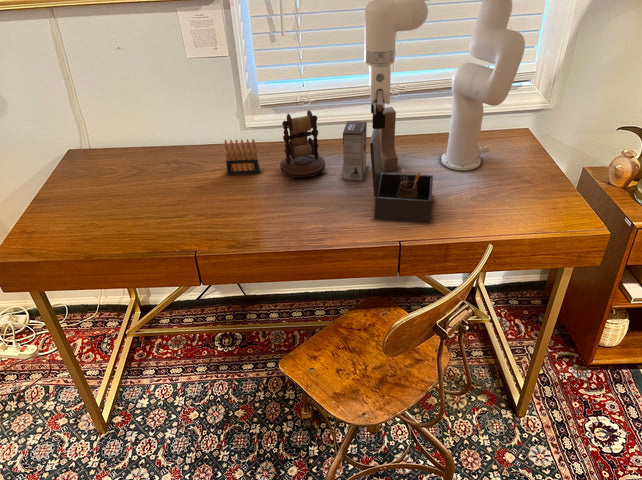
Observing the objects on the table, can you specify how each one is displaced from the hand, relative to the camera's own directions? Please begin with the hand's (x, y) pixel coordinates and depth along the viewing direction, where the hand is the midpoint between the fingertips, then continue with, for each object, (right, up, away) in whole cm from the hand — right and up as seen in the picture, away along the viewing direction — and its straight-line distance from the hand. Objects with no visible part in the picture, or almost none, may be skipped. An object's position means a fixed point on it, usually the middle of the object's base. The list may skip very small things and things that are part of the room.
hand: (377, 120), depth 147 cm
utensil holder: (+10, -22, +13) cm, 27 cm away
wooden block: (+7, -5, +34) cm, 35 cm away
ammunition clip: (-40, -8, +34) cm, 54 cm away
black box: (+9, -22, +13) cm, 27 cm away
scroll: (-21, -7, +34) cm, 40 cm away
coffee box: (-4, -9, +31) cm, 32 cm away
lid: (+1, -9, +5) cm, 10 cm away
